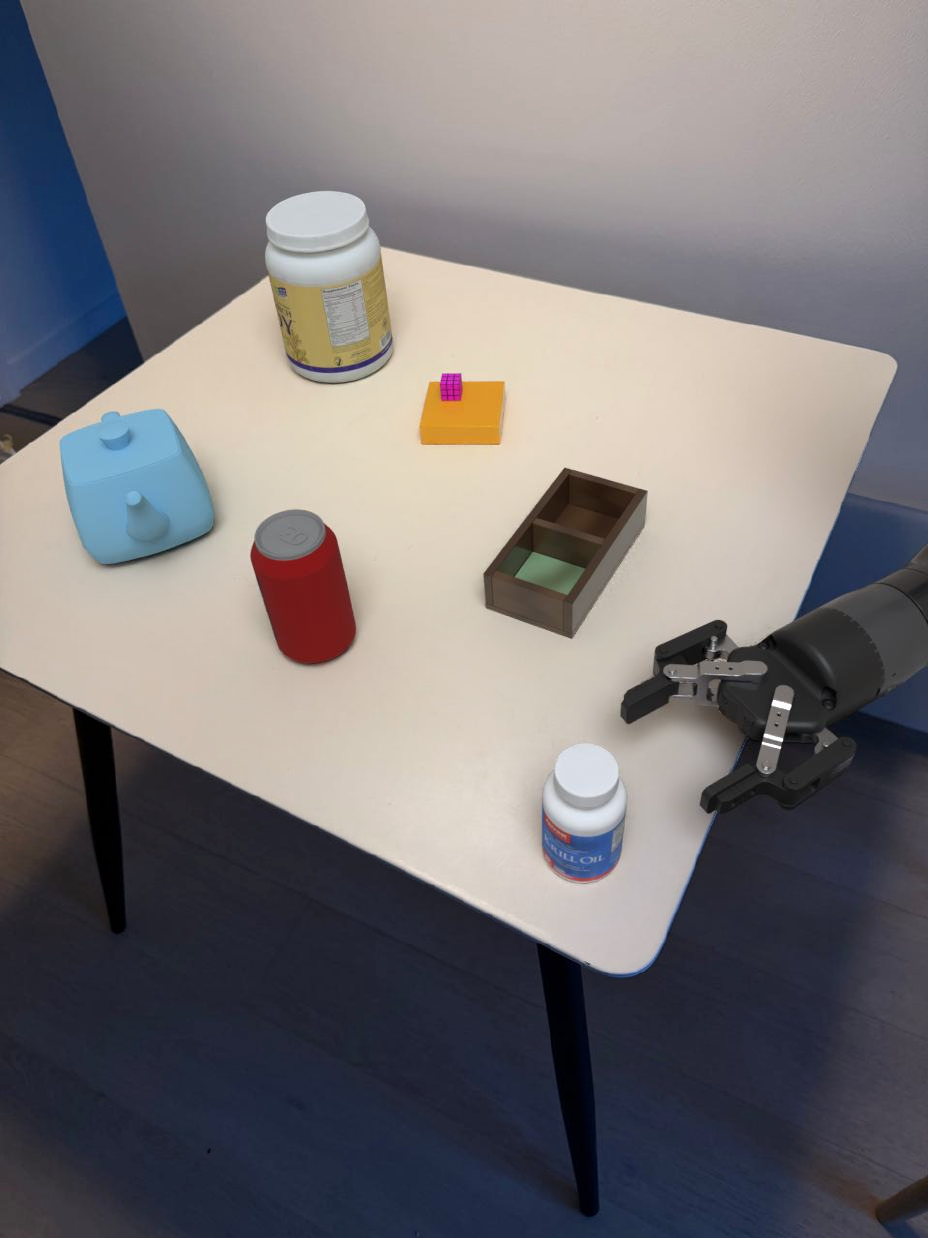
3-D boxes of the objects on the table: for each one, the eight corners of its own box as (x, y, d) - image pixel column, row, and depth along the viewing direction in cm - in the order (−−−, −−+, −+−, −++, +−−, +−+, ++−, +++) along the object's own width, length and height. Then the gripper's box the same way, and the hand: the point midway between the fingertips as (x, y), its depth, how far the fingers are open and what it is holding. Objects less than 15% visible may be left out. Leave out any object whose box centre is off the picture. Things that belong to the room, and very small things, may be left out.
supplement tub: (275, 347, 115) (241, 204, 103) (372, 318, 118) (350, 176, 106) (308, 400, 108) (276, 252, 95) (411, 367, 111) (392, 219, 98)
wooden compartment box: (645, 525, 90) (647, 490, 87) (572, 639, 81) (572, 604, 78) (564, 501, 93) (564, 466, 90) (485, 608, 84) (482, 573, 81)
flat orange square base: (505, 398, 105) (503, 363, 102) (500, 444, 100) (498, 409, 97) (431, 399, 106) (427, 364, 103) (421, 444, 101) (417, 409, 98)
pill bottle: (531, 872, 67) (527, 791, 60) (556, 807, 70) (555, 723, 63) (610, 896, 65) (616, 816, 58) (631, 829, 69) (639, 745, 61)
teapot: (103, 618, 86) (55, 519, 78) (75, 501, 98) (31, 403, 90) (240, 573, 89) (207, 472, 81) (197, 464, 101) (165, 366, 93)
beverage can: (314, 599, 86) (287, 492, 78) (374, 629, 83) (352, 522, 75) (261, 648, 83) (226, 542, 74) (321, 682, 80) (292, 575, 71)
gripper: (783, 558, 72) (600, 651, 67) (940, 685, 63) (742, 803, 58) (768, 628, 77) (597, 719, 72) (910, 754, 68) (727, 867, 64)
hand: (662, 756), depth 65 cm, fingers open, 8 cm apart
